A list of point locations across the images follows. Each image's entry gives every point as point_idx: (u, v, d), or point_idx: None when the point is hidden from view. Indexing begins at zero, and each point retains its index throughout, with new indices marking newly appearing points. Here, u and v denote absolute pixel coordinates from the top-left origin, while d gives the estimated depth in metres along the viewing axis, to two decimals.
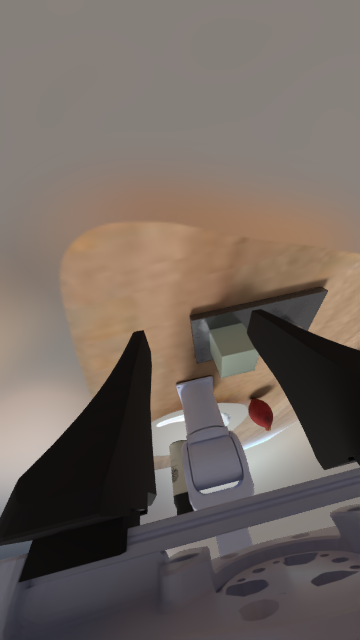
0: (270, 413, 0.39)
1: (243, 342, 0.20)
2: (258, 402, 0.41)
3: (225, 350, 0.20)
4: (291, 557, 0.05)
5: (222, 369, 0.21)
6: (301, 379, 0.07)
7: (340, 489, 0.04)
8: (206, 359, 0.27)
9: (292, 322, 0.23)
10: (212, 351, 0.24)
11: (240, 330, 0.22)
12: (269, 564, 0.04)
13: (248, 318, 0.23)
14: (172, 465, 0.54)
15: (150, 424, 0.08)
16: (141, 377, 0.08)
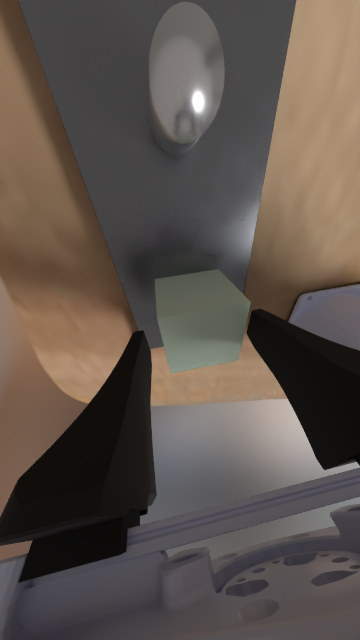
0: None
1: None
2: None
3: None
4: (291, 557, 0.05)
5: (210, 364, 0.11)
6: (301, 379, 0.07)
7: (340, 489, 0.04)
8: None
9: (149, 106, 0.06)
10: None
11: None
12: (269, 564, 0.04)
13: (143, 267, 0.11)
14: None
15: (150, 424, 0.08)
16: (141, 377, 0.08)
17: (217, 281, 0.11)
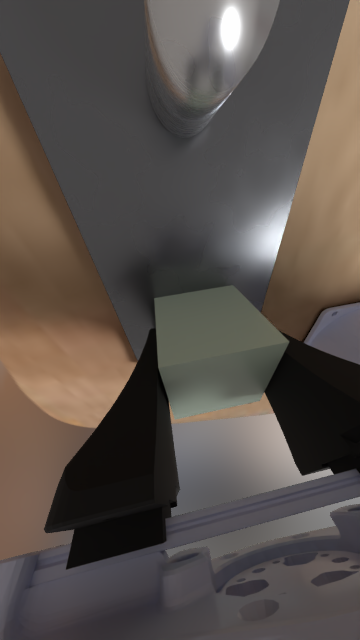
0: None
1: None
2: None
3: None
4: (291, 557, 0.05)
5: (225, 407, 0.09)
6: (280, 384, 0.07)
7: (340, 489, 0.04)
8: None
9: (145, 49, 0.04)
10: None
11: None
12: (269, 564, 0.04)
13: (140, 285, 0.09)
14: None
15: (170, 420, 0.08)
16: None
17: (235, 303, 0.08)
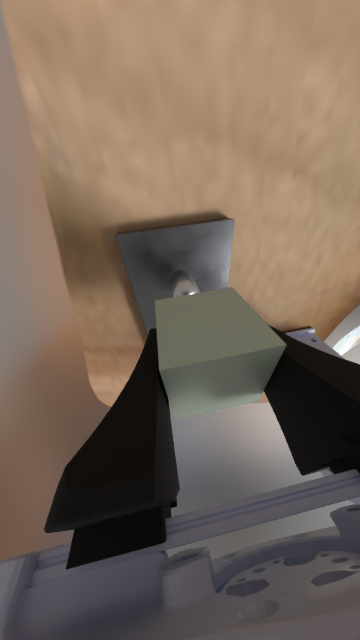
0: None
1: None
2: None
3: None
4: (291, 557, 0.05)
5: (224, 407, 0.09)
6: (280, 384, 0.07)
7: (340, 489, 0.04)
8: None
9: (171, 287, 0.15)
10: None
11: None
12: (269, 564, 0.04)
13: None
14: None
15: (170, 420, 0.08)
16: None
17: (234, 305, 0.08)
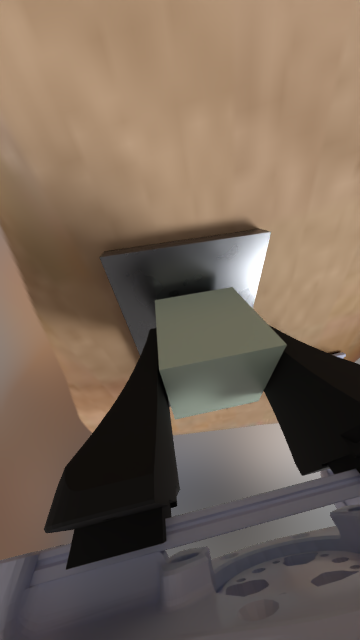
0: None
1: None
2: None
3: None
4: (291, 557, 0.05)
5: (224, 407, 0.09)
6: (280, 384, 0.07)
7: (340, 489, 0.04)
8: None
9: None
10: None
11: None
12: (269, 564, 0.04)
13: None
14: None
15: (170, 420, 0.08)
16: None
17: (234, 305, 0.08)
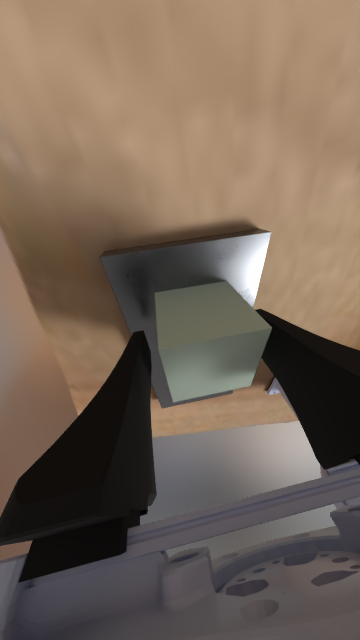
0: None
1: None
2: None
3: None
4: (291, 557, 0.05)
5: (218, 391, 0.10)
6: (301, 379, 0.07)
7: (340, 489, 0.04)
8: None
9: None
10: None
11: None
12: (269, 564, 0.04)
13: None
14: None
15: (150, 424, 0.08)
16: (141, 377, 0.08)
17: (227, 296, 0.09)
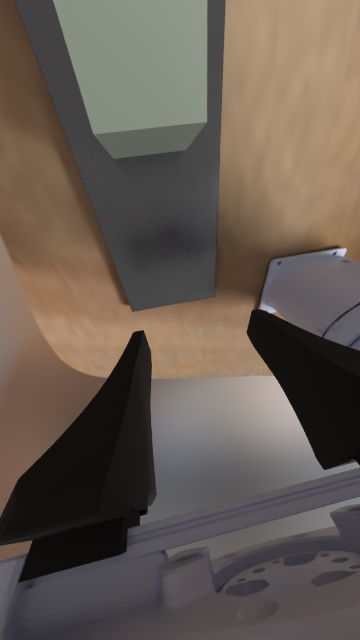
0: None
1: None
2: None
3: None
4: (291, 557, 0.05)
5: (159, 121, 0.07)
6: (301, 379, 0.07)
7: (340, 489, 0.04)
8: (210, 284, 0.17)
9: None
10: (166, 148, 0.10)
11: None
12: (269, 564, 0.04)
13: (124, 226, 0.13)
14: None
15: (150, 424, 0.08)
16: (141, 377, 0.08)
17: None
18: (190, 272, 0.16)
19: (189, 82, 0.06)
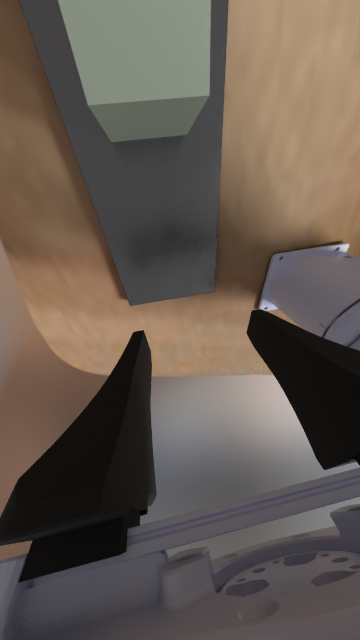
0: None
1: None
2: None
3: None
4: (291, 557, 0.05)
5: (159, 93, 0.06)
6: (301, 379, 0.07)
7: (340, 489, 0.04)
8: (210, 278, 0.17)
9: None
10: (166, 130, 0.09)
11: None
12: (269, 564, 0.04)
13: (122, 215, 0.12)
14: None
15: (150, 424, 0.08)
16: (141, 377, 0.08)
17: None
18: (190, 265, 0.16)
19: (191, 49, 0.06)
